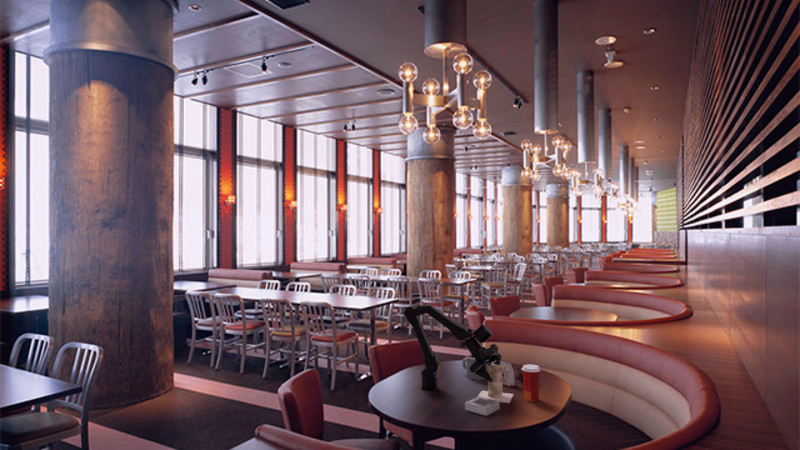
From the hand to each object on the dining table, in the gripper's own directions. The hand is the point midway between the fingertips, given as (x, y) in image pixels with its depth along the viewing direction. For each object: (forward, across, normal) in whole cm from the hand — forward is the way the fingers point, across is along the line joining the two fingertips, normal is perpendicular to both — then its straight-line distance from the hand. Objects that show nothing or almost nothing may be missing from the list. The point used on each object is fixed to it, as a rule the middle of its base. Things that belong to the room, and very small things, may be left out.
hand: (497, 379), depth 213 cm
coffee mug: (-12, +20, +24) cm, 34 cm away
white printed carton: (+1, +19, +11) cm, 22 cm away
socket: (+7, -16, +4) cm, 18 cm away
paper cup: (+14, +8, -2) cm, 16 cm away
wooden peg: (+4, 0, +6) cm, 8 cm away
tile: (+5, 0, +7) cm, 8 cm away
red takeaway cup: (+5, +28, +7) cm, 29 cm away
